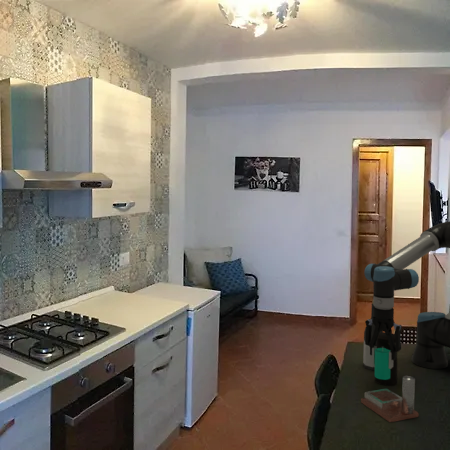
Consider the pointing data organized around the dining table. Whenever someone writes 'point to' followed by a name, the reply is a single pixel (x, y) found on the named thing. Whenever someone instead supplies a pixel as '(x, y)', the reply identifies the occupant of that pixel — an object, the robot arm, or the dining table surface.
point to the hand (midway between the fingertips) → (382, 365)
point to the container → (383, 343)
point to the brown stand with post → (393, 401)
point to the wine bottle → (366, 354)
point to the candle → (382, 363)
